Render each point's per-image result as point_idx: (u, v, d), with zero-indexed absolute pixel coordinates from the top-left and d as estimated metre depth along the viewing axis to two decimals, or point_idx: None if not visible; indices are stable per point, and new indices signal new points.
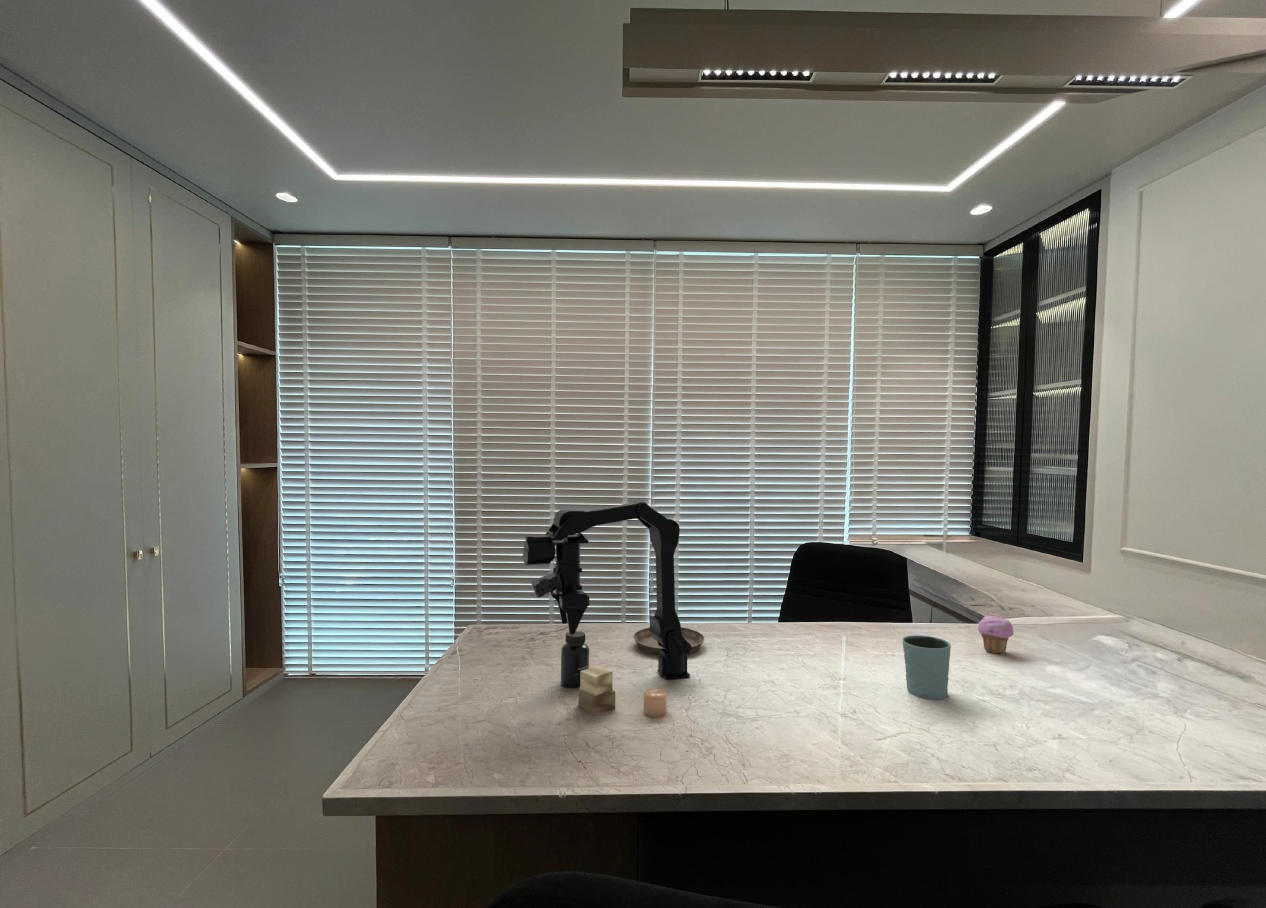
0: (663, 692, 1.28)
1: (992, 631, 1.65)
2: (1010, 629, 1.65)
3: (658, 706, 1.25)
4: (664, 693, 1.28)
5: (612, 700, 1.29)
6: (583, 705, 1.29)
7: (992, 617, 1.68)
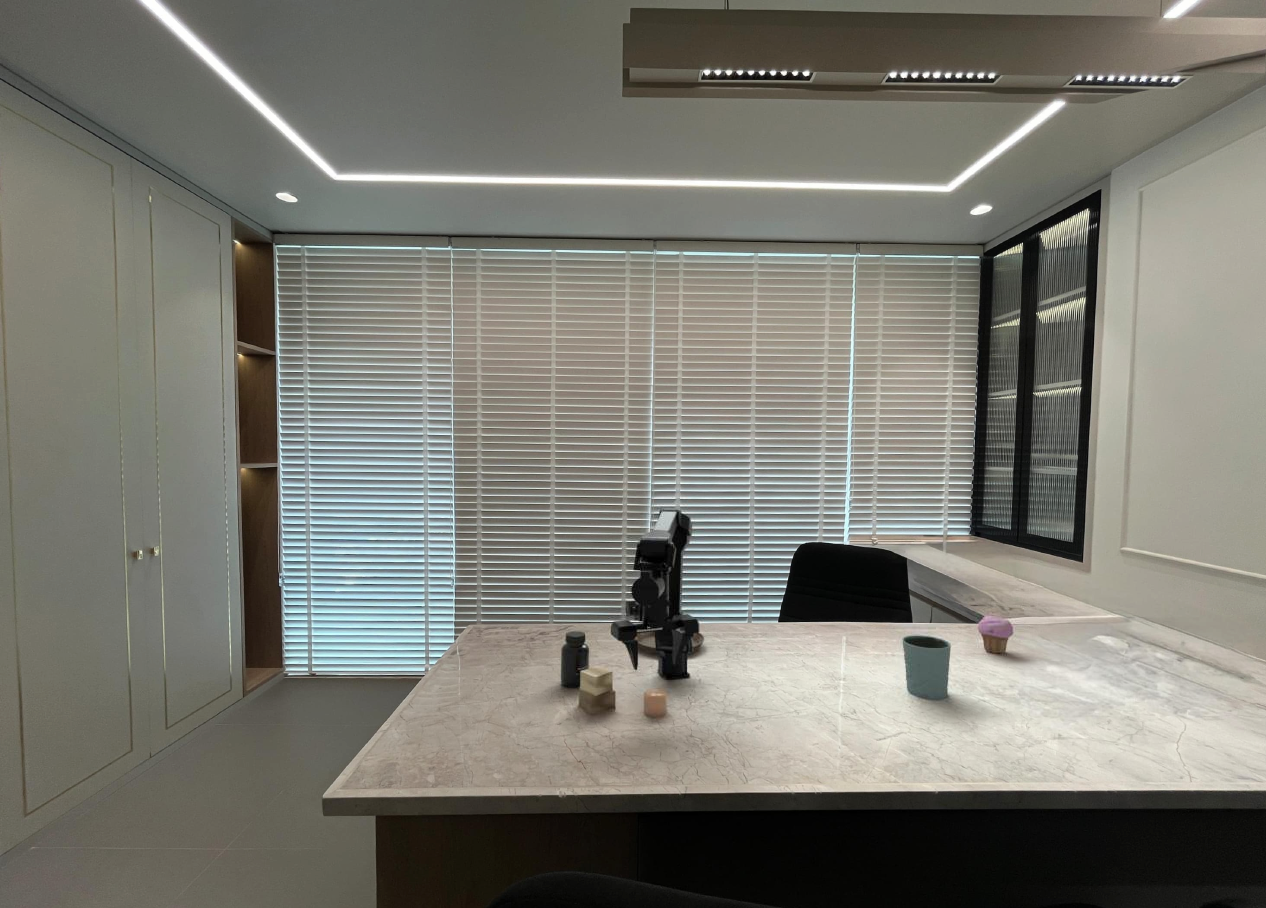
0: (663, 692, 1.28)
1: (992, 631, 1.65)
2: (1010, 629, 1.65)
3: (658, 706, 1.25)
4: (664, 693, 1.28)
5: (612, 700, 1.29)
6: (583, 705, 1.29)
7: (992, 617, 1.69)
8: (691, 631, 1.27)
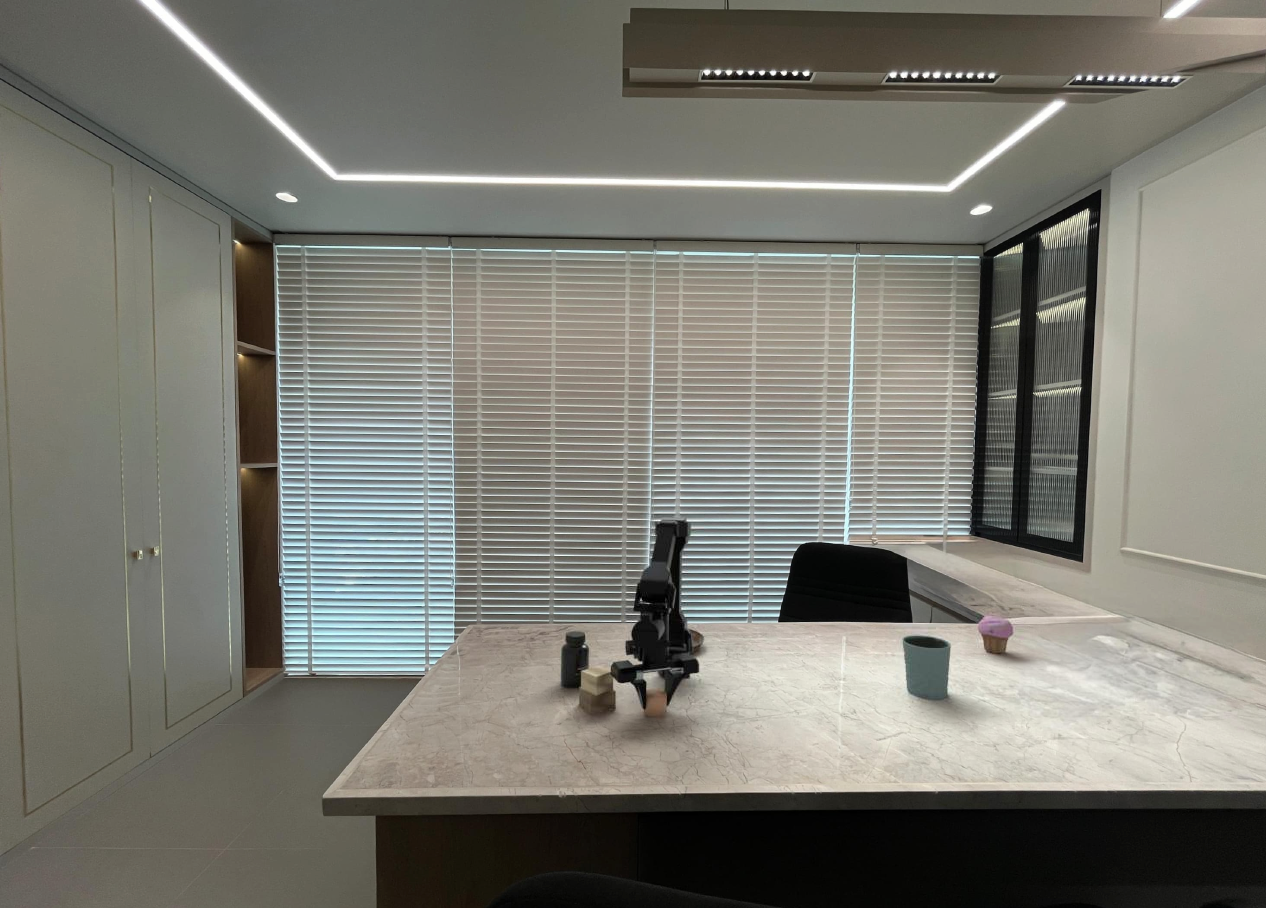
0: (663, 692, 1.28)
1: (992, 631, 1.65)
2: (1010, 629, 1.65)
3: (657, 706, 1.25)
4: (664, 692, 1.28)
5: (612, 700, 1.29)
6: (583, 705, 1.29)
7: (992, 617, 1.69)
8: (691, 671, 1.27)
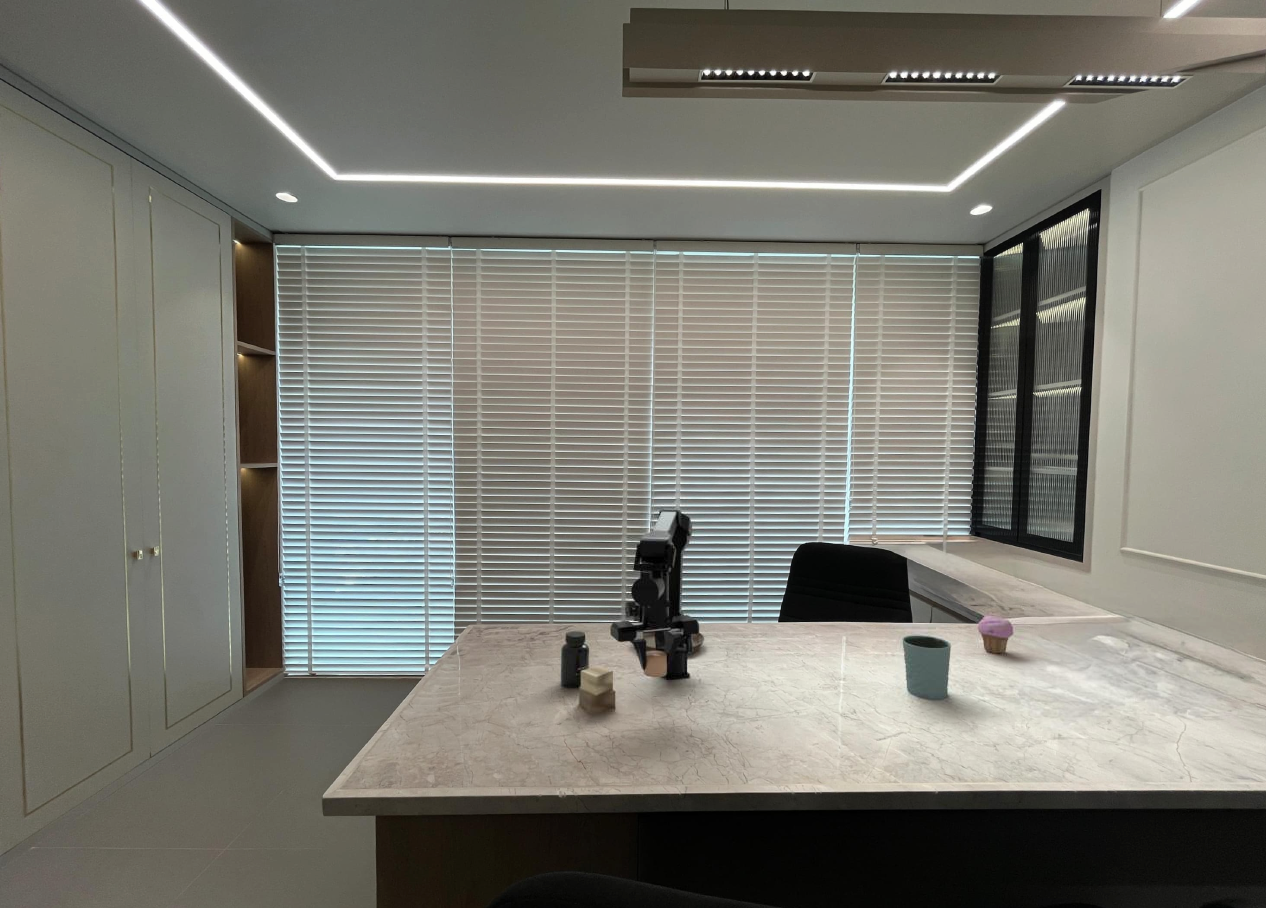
0: (663, 653, 1.28)
1: (992, 631, 1.65)
2: (1010, 629, 1.65)
3: (657, 666, 1.25)
4: (663, 653, 1.28)
5: (612, 700, 1.29)
6: (583, 705, 1.29)
7: (992, 617, 1.69)
8: (691, 632, 1.27)
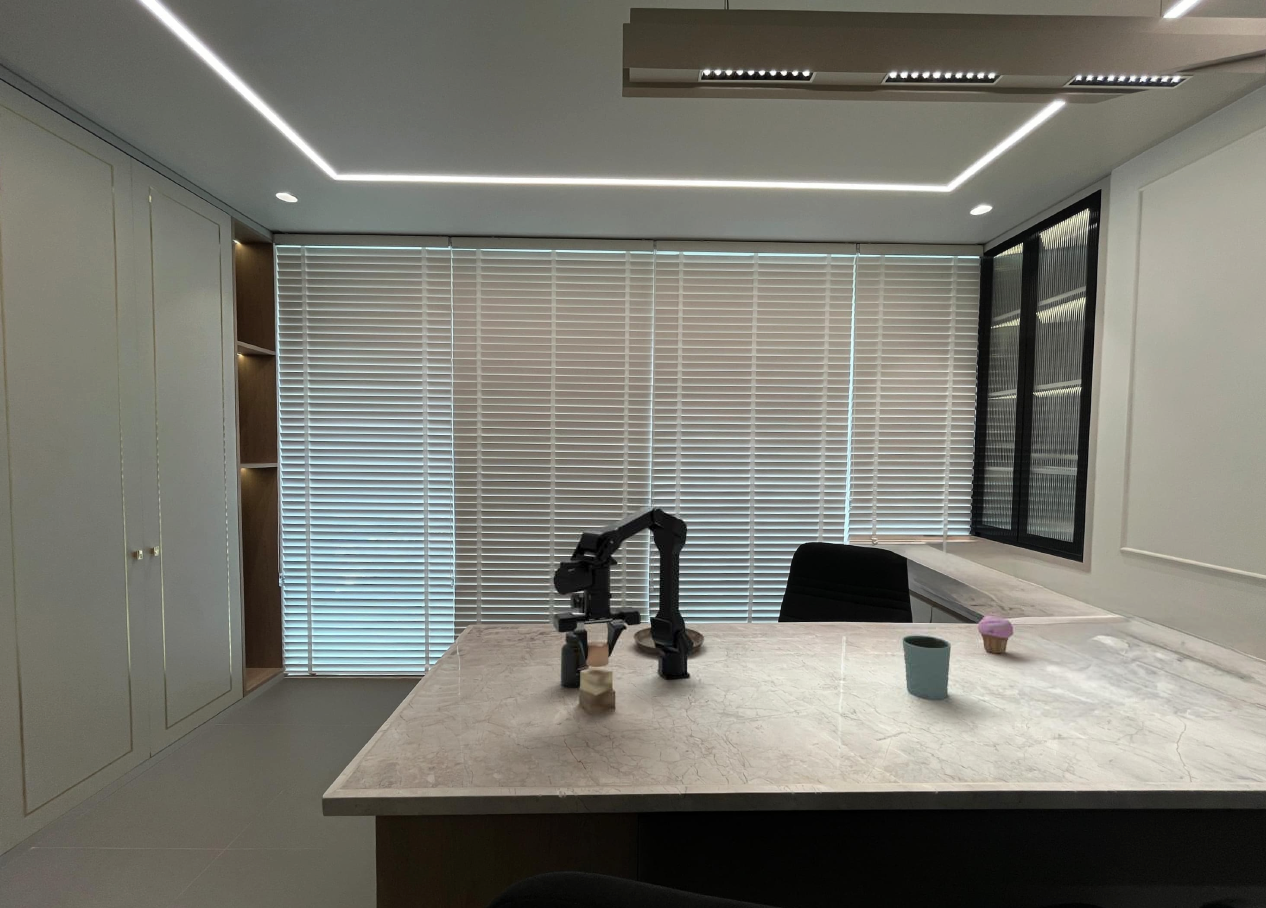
0: (605, 643, 1.31)
1: (992, 631, 1.65)
2: (1010, 629, 1.65)
3: (598, 656, 1.28)
4: (606, 644, 1.30)
5: (612, 700, 1.29)
6: (583, 705, 1.29)
7: (992, 617, 1.69)
8: (632, 623, 1.30)
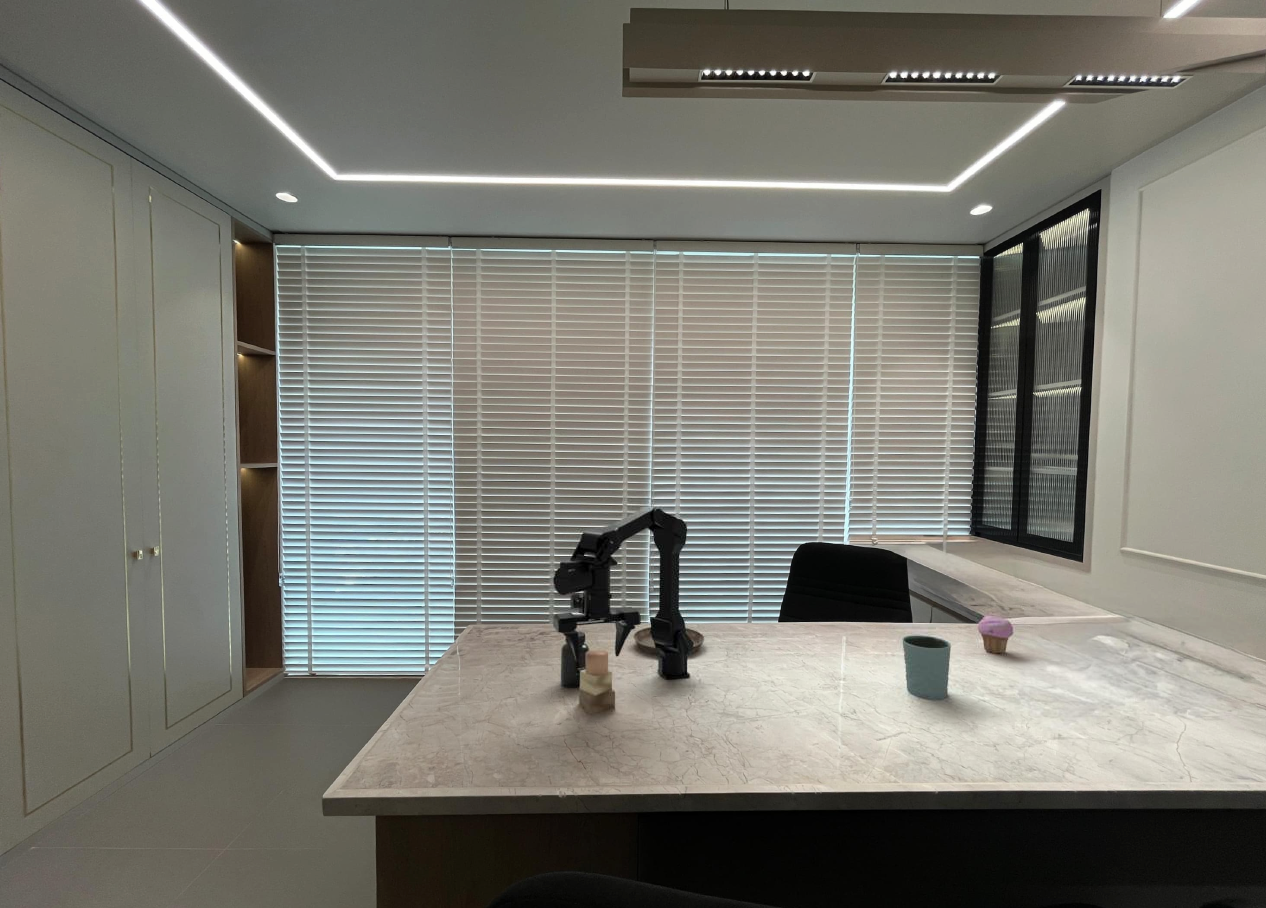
0: (605, 652, 1.31)
1: (992, 631, 1.65)
2: (1010, 629, 1.65)
3: (598, 664, 1.28)
4: (605, 652, 1.30)
5: (612, 700, 1.29)
6: (583, 705, 1.29)
7: (992, 617, 1.69)
8: (632, 623, 1.30)
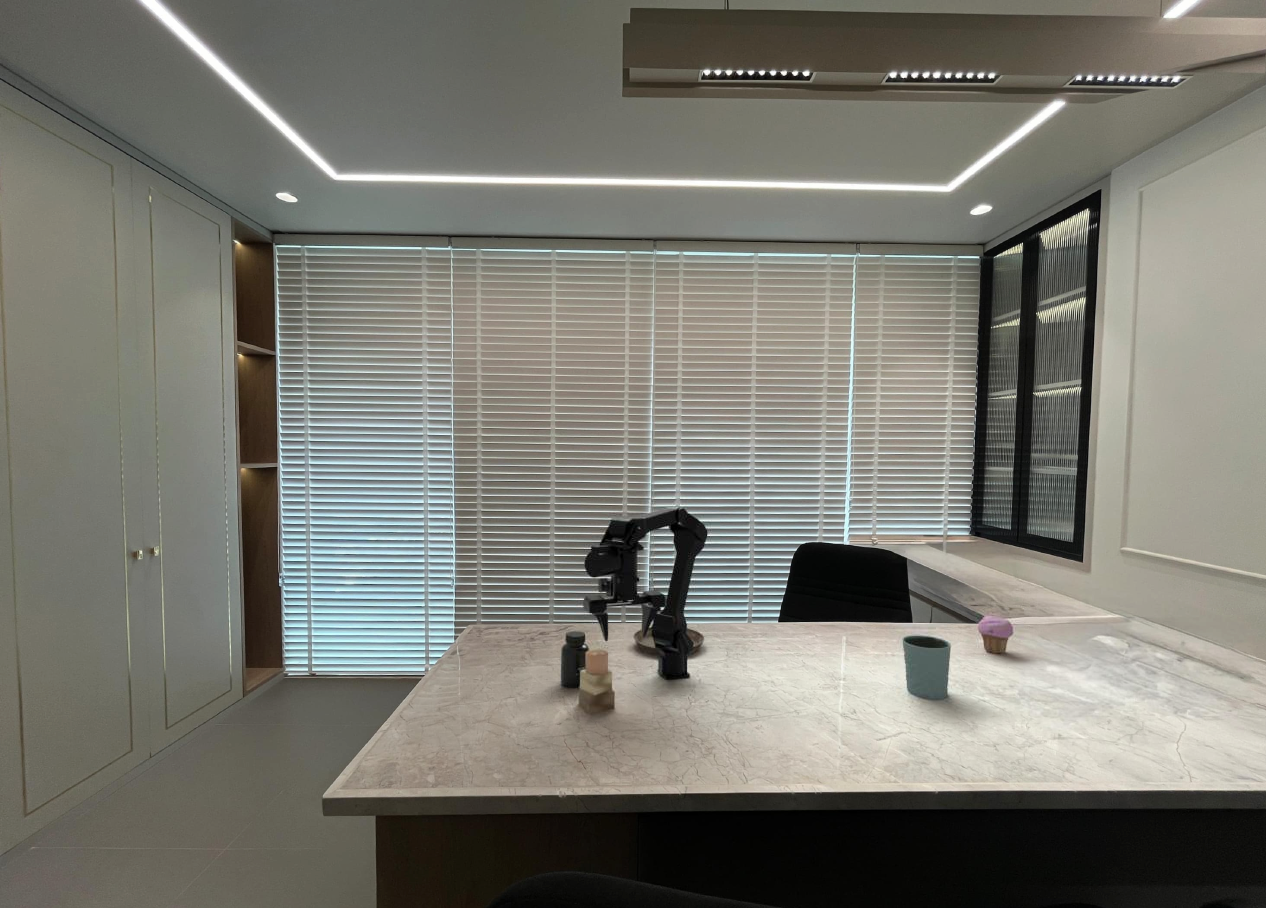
0: (605, 652, 1.31)
1: (992, 631, 1.65)
2: (1010, 629, 1.65)
3: (597, 664, 1.28)
4: (605, 652, 1.30)
5: (611, 700, 1.29)
6: (582, 704, 1.30)
7: (992, 617, 1.69)
8: (658, 605, 1.36)
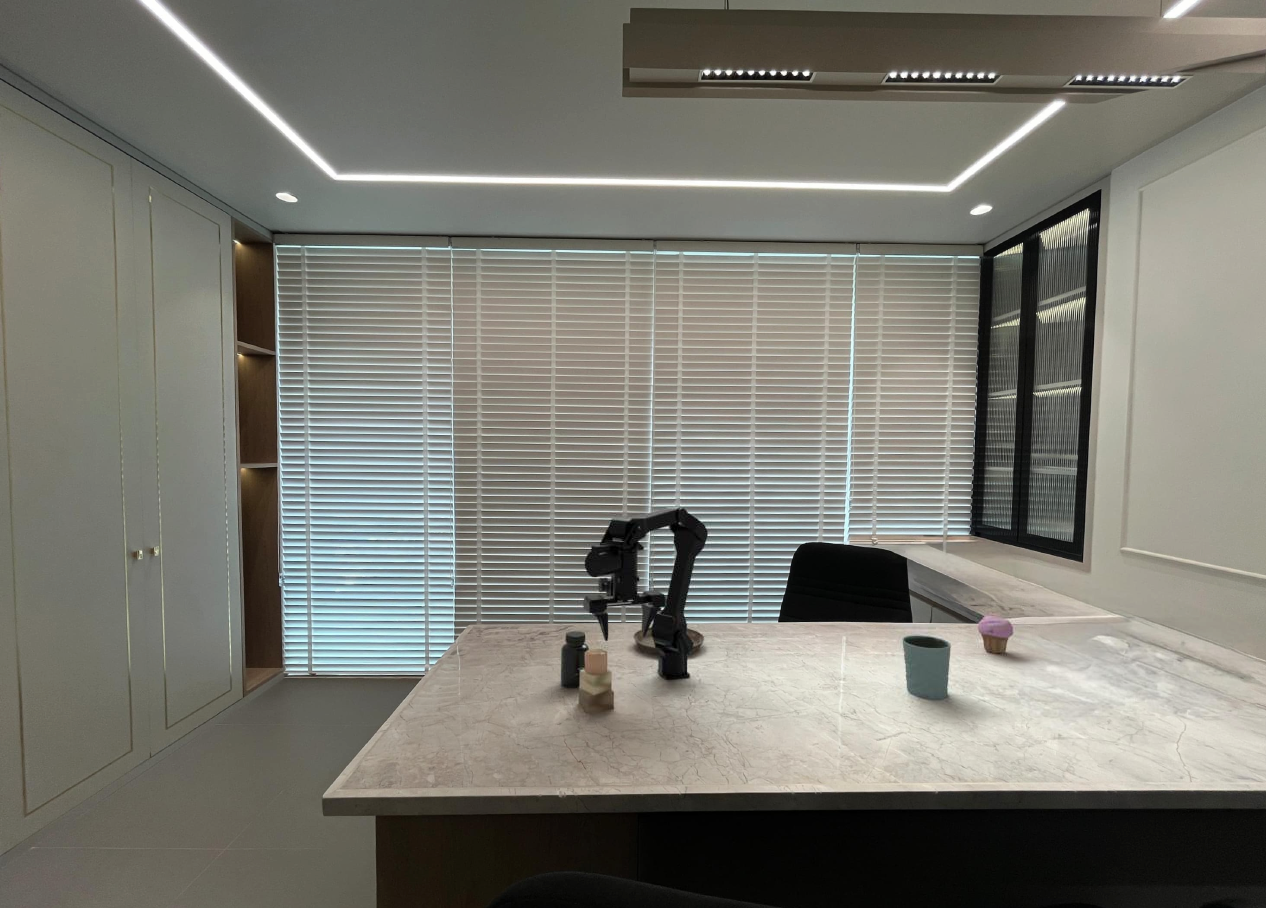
0: (604, 651, 1.31)
1: (992, 631, 1.65)
2: (1010, 629, 1.65)
3: (596, 664, 1.28)
4: (604, 652, 1.31)
5: (610, 700, 1.29)
6: (582, 704, 1.30)
7: (992, 617, 1.69)
8: (658, 605, 1.36)
